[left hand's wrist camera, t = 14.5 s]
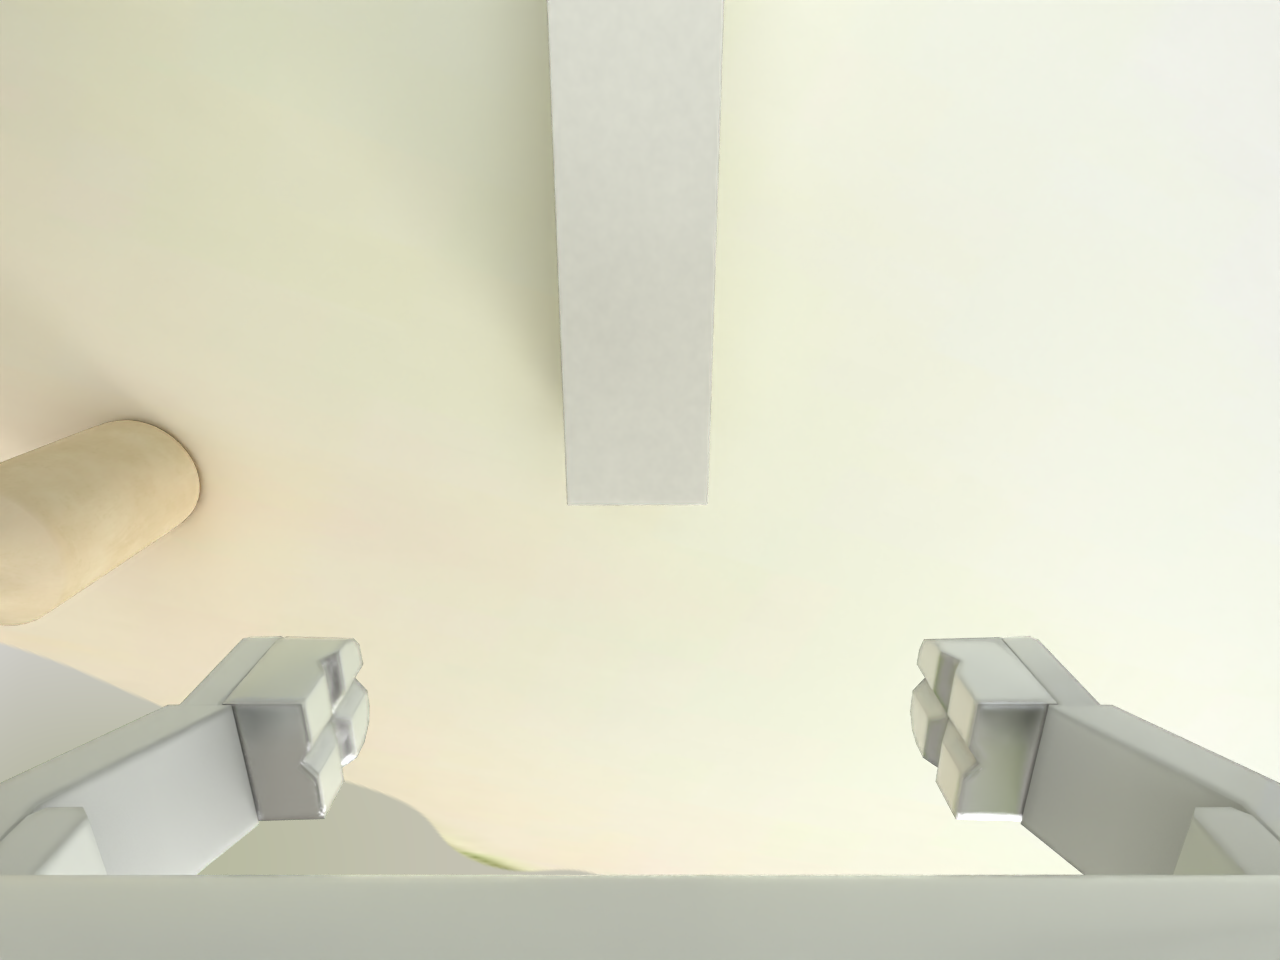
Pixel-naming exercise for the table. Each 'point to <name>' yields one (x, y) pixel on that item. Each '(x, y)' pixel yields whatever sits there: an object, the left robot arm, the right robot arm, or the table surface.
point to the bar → (636, 242)
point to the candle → (86, 511)
